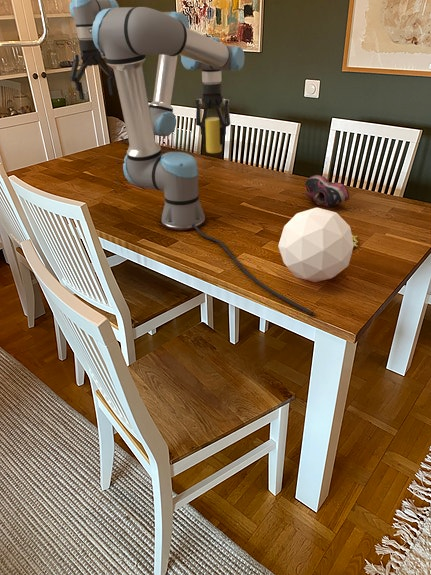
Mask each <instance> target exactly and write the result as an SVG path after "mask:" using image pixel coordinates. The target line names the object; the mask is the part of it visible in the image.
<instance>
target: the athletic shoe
mask: <svg viewBox="0 0 431 575" xmlns="http://www.w3.org/2000/svg"><path fill="white" fill-rule="evenodd" d="M304 187H305V190H306V192H307V193H302V195H304V196H308V197H310V199H311V201H312V202H315V204H316V205H318V206H326V207H327V208H330V207H333V206H336V205H339V204H341V203H344V202H348V201H349V199H350V193H349V190H348V188H347V187H346V186H345V185H344V183H341V182H337V181H335V182H332V183H331V182H330V181H329V179H327V178H326V176H323V175H320V174H314V175H312V176H310V177H309V178H308V179H306V181H305V183H304Z"/></svg>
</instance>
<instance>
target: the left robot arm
mask: <svg viewBox="0 0 431 575" xmlns="http://www.w3.org/2000/svg"><path fill="white" fill-rule="evenodd" d="M112 7H113V8H115V7H118V8H120V5H119V3H118V1H117V0H71V2H70V3H69V14H70V16H71V18H72V19H74V23H75V28H76V35H77V38H78V46H79V51H80V54H76V53H74V54H73V55H72V59H73V61H72V66H71V69H70V73H69V79H68V80H69V81H70V82H74V86H75V90H76V91H77V92H78V96H79V100H81V101H85V96H84V95H85V94H84V90H83V83H82V82H81V79H82V77H83V75H84V73H85V71H86V69H87V68H88V67H93V66H98V67H99V68H100V70H102V72H103V73H105V75H106V76H107V78H106V79H107V86H108V93H109V95H110V96H115V91H114V87H115V79H116V78H115V74H114V69H113V68H112V67H110V66H109V65H108V64H107V61H106V57H105V54H103V53H101V52H100V51H99V49H97V48H96V46H95V44H94V41H93V36H92V27H93V22H94V21H95V18H96V16H97V14H98V13H99V12H100V11H102V10H104V9H108V8H112ZM161 12H162V13H165V14H167V15H169V16H171V17H174V18H176V19H178V20H180V21H182V22H183V23H184V25H185V27H186V28H188V29H190V28H191V27H190V23H189V21H188V18H187V16H186V15H185V14H184V13H182V12H180V11H161ZM178 56H179V55H177V56H169V55H162V54H158V61H157V66H156V68H157V69H156V75H155V82H154V90H153V98H152V101H151V102H150V103H149V109H150V115H151V120H152V126H153V132H154V136H157V137H169V136H171V134H173V133H174V131H175V130H176V126H177V117H176V115H175V114H174V108H173V106H172V98H173V91H174V83H175V76H176V69H177V63H178ZM101 58H102V60H103V61H104V62H103V61H102V60H101ZM81 60H82V62H81V64H80V66H79V63H80V61H81ZM104 63H105V64H104ZM106 66H107V67H106ZM119 139H121V140H122V141H123V142H124V143H125V144H127V145H128V148H129V147H130V144H129V141H127V140H126V139H125V138H124V137H123V135H122V136H121V135H120V137H119Z"/></svg>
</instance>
